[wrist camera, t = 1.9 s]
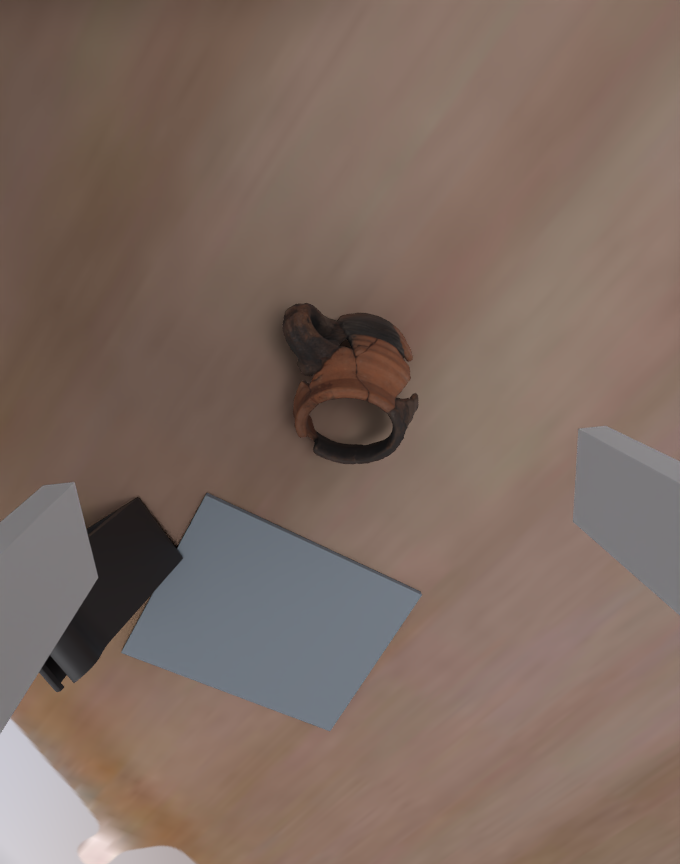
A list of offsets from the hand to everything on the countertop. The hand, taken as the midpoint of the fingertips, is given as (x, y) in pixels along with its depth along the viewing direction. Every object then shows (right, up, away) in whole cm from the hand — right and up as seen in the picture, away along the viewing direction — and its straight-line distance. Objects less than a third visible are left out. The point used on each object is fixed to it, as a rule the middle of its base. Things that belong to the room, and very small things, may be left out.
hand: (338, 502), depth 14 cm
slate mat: (-6, -14, +31) cm, 34 cm away
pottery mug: (0, +7, +26) cm, 26 cm away
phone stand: (-18, -8, +28) cm, 34 cm away
